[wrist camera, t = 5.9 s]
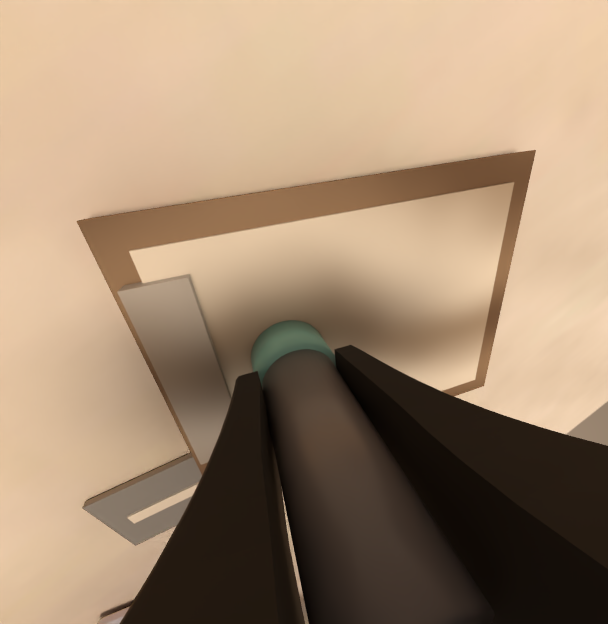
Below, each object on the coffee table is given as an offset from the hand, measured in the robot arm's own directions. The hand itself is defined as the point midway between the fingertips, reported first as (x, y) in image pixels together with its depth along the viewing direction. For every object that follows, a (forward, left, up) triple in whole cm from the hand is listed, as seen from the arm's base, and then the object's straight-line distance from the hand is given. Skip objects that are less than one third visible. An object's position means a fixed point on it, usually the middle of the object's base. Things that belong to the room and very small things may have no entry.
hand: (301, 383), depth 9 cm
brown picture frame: (0, -3, -3) cm, 4 cm away
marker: (0, 0, -2) cm, 2 cm away
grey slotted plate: (-7, +7, -3) cm, 10 cm away
